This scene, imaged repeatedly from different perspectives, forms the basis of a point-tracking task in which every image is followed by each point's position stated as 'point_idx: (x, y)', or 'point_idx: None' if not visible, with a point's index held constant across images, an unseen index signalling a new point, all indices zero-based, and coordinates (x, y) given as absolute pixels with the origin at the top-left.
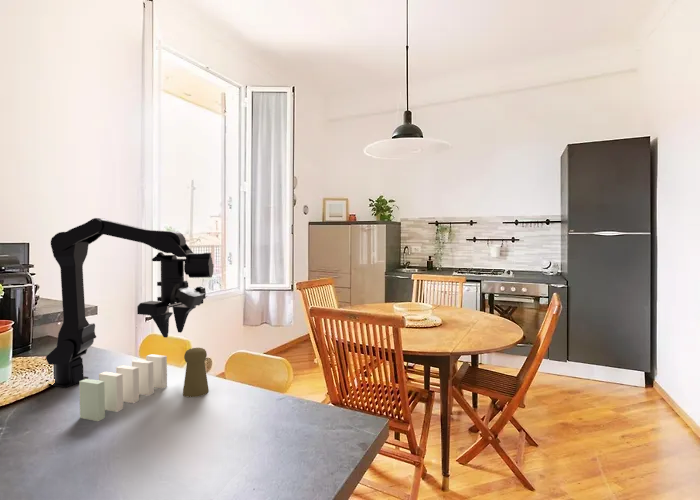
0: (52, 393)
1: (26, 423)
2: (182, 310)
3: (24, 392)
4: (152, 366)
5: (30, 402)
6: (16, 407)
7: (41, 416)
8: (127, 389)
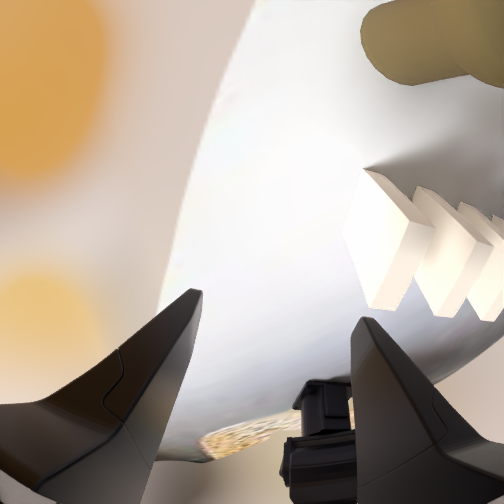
0: None
1: (492, 332)
2: (111, 482)
3: None
4: (468, 231)
5: None
6: None
7: (477, 333)
8: None
